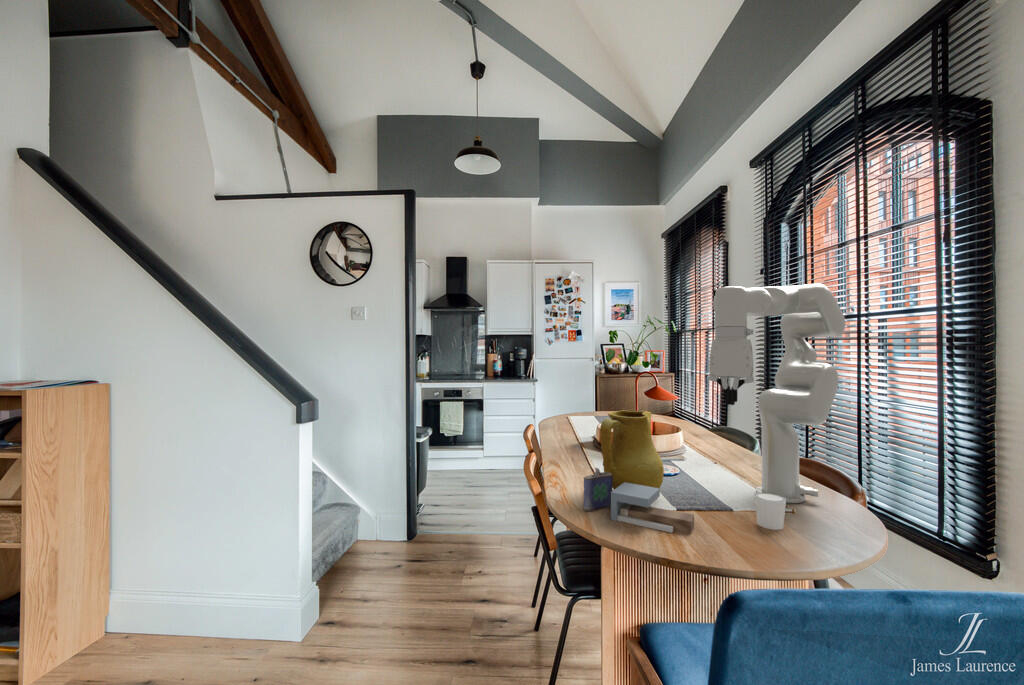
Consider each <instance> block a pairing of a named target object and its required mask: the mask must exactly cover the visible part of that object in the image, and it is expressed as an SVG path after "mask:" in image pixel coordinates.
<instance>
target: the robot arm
mask: <svg viewBox="0 0 1024 685" xmlns="http://www.w3.org/2000/svg"><path fill="white" fill-rule="evenodd" d="M835 297H836V296H834V294H833V293H832V291H831V290H830V289H829V288H828V287H827V286H826V285H825V284H822V283H809V284H808V283H807V284H799V285H783V286H782V285H781V286H780V285H776V286H775V285H774V286H773V285H772V286H771V285H770V286H769V285H768V286H762V287H743V286H738V285H737V286H736V285H735V286H734V285H733V286H730V285H729V286H722V287H718V288H717V289H716V291H715V294H714V298H713V300H712V308H713V310H714V336H715V338H714V339H712V341H711V344H710V345H711V346H710V350H709V352H710V353H709V364H708V366H709V367H708V371H709V372H708V373H709V375H708V378H707V379H708V381H711V382H714V383H717V384H719V386H721V387H722V389H723V401H724V402H726V405H727V406H729V405H731V406H735V404H736V403H737V402H738V389H740V388H741V387H742V386H743V385H744V384H751V383H753V382H755V379H754V354H753V353H754V352H753V346H752V341H751V339H748V337H749V336H752V335H753V336H754V329H750V328H748V317H770V316H771V317H772V316H782V318H781V319H780V320H781V321H780V324H779V325H780V332H781V335H782V336H781V337H782V340H783V344H784V348H785V350H784V351H785V352H784V354H783V357H782V359H781V362H780V364H779V366H778V368H777V371H776V373H775V376H774V384H775V387H776V388H769V389H765V390H763V391H762V392H761V393H760V394H759V396H758V399H757V406H758V407H757V408H758V413H759V418H760V426H761V485H760V486H757V487H756V488H755V494H757V493H770V494H775V495H779V496H782V497H784V498H785V499H786V504H800V503H801V504H802V503H804V502H806V496H811V497H814V498H815V497H816V498H818V497H819V490H818V489H813V487H807V486H804V485H801V484H802V483H801V481H800V438H799V434H798V432H797V430H796V429H795V427H793V425H792V424H796V425H804V426H811V427H816V426H817V427H818V426H821V425H823V424H824V423H825V422H826V420H827V418H828V416H829V413H830V410H831V408H832V406H833V402H834V400H835V396H836V395H837V392H838V387H839V380H840V378H839V374H838V371H837V369H836V368H835V366H833V365H832V364H829V363H827V362H816V361H817V358H818V355H817V354H818V353H817V352H816V350H815V349H814V347H813V346H812V345H811V344H810V343H809V342H807V340H806V339H805V338H835V337H838V336H840V335H841V334H843V333H844V331H845V328H846V319H845V316H844V312H843V310H842V309H841V306H840V304H839V303H838V301H837V300H836V299H837V298H835ZM729 378H730V379H731V378H733V381H732V382H733V383H732V386H730V383H729Z"/></svg>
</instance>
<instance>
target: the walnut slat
mask: <svg viewBox="0 0 1024 685" xmlns="http://www.w3.org/2000/svg"><path fill="white" fill-rule="evenodd" d="M620 515H624V516H628V517H633V518H637V519H642V520H646V521H651V522H655V523H660V524H665V525H669V526H673V532H674V531H676V532H680V533H686V534H692V532H693V530H694V527H695V514H692V513H687V512H681V511H676V510H671V509H665V508H661V507H653V506H650V507H649V508H648V507H643V506H638V505H633V504H628V503H624V504H623V505H622V506H621V508H620Z"/></svg>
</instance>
